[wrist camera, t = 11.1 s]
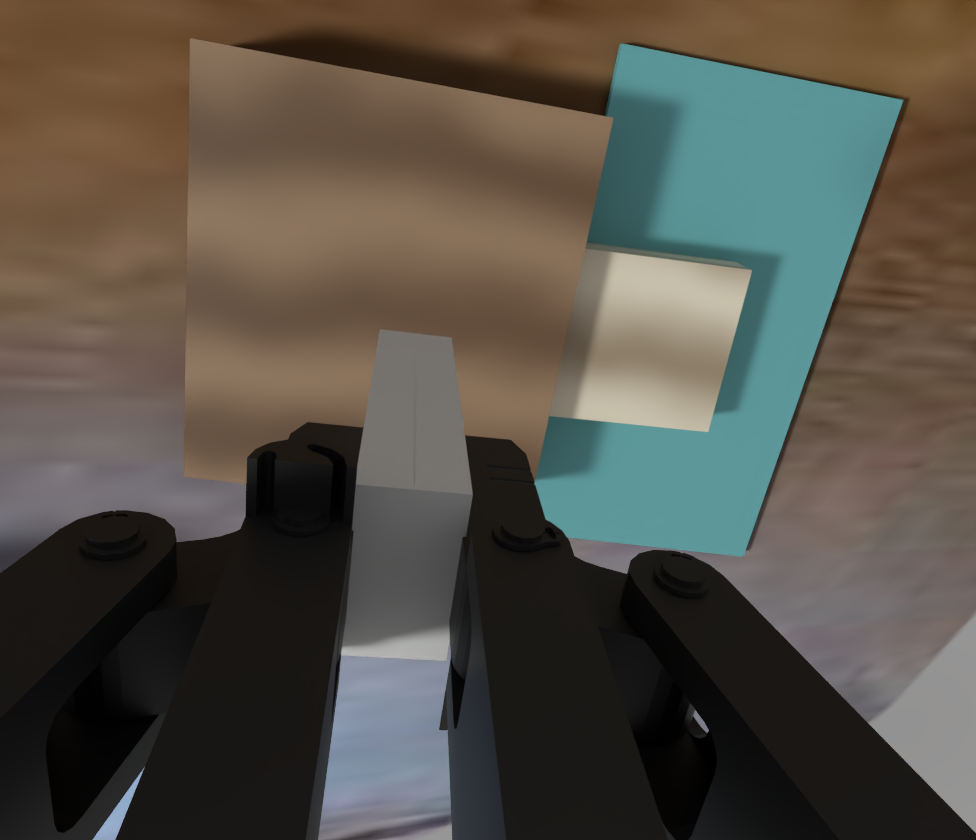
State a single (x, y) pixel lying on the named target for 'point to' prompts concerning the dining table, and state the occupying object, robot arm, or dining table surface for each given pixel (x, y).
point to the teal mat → (731, 237)
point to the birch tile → (649, 337)
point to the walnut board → (372, 246)
